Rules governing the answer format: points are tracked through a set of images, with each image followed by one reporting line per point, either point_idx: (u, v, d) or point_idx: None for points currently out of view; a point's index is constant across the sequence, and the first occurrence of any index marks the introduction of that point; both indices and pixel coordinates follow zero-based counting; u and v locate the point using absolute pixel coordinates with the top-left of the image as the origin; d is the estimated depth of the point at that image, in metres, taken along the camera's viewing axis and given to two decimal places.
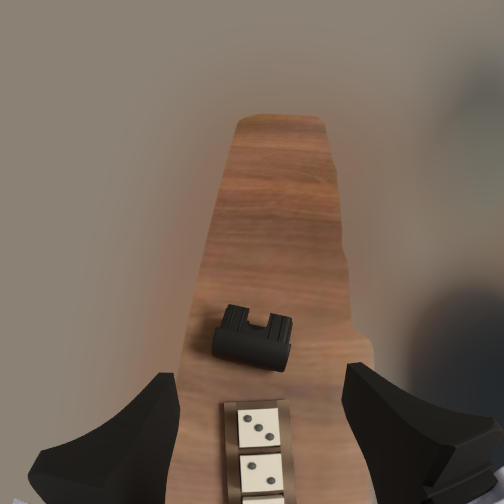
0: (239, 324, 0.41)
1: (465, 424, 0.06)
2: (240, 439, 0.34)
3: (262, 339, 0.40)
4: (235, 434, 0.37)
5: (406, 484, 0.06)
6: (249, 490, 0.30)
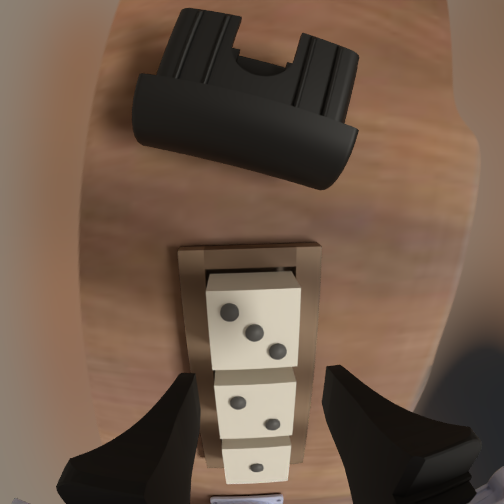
0: (209, 60, 0.12)
1: (440, 434, 0.06)
2: (213, 355, 0.17)
3: (278, 105, 0.12)
4: (204, 320, 0.20)
5: (379, 492, 0.06)
6: (232, 436, 0.19)
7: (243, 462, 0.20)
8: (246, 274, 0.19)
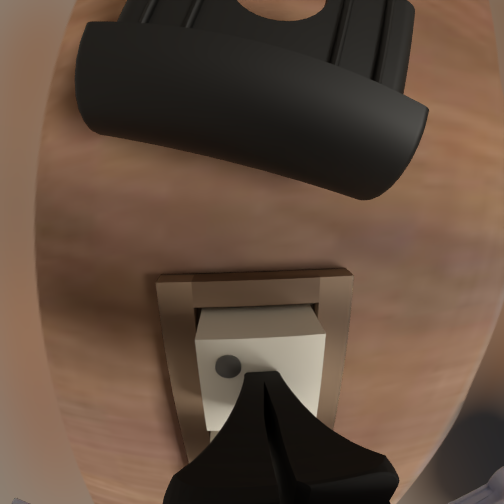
0: None
1: (347, 459, 0.06)
2: (207, 415, 0.12)
3: (307, 61, 0.07)
4: (195, 371, 0.15)
5: None
6: None
7: None
8: (250, 310, 0.14)
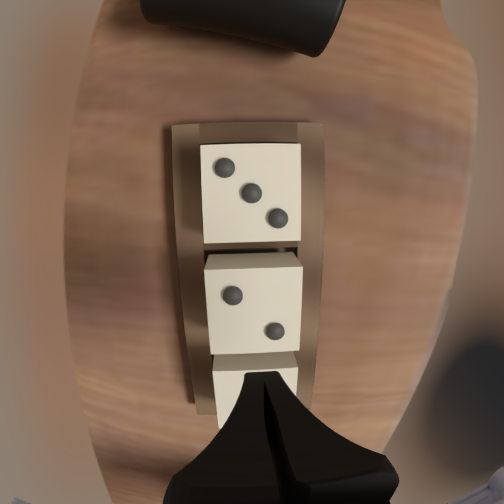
0: None
1: (347, 459, 0.06)
2: (205, 223, 0.16)
3: None
4: (197, 203, 0.18)
5: None
6: (225, 350, 0.17)
7: (239, 393, 0.18)
8: None
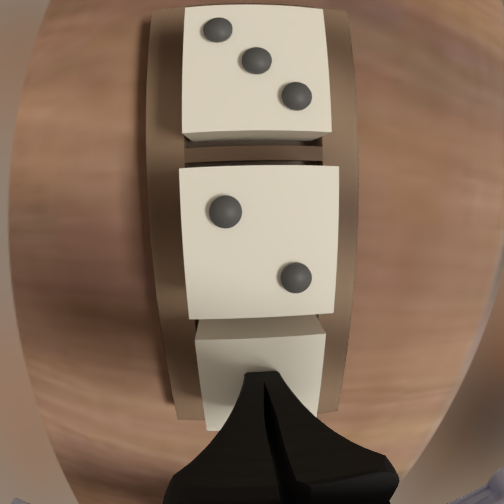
0: None
1: (347, 459, 0.06)
2: (186, 102, 0.10)
3: None
4: (178, 97, 0.12)
5: None
6: (213, 312, 0.11)
7: (236, 377, 0.12)
8: None
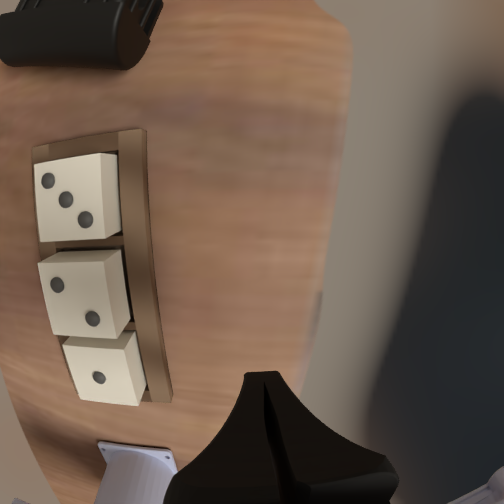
0: None
1: (347, 459, 0.06)
2: (39, 225, 0.17)
3: (66, 6, 0.11)
4: None
5: None
6: (62, 332, 0.18)
7: (85, 367, 0.19)
8: None
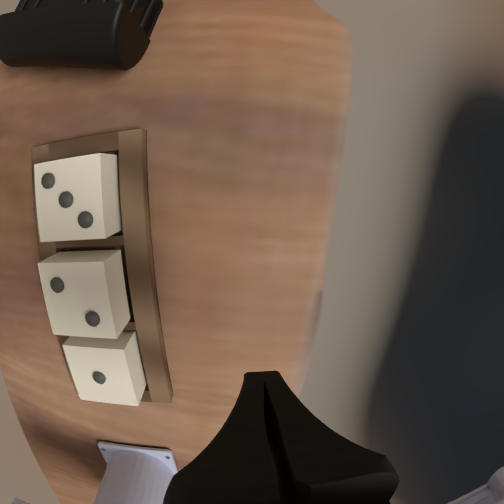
0: None
1: (347, 459, 0.06)
2: (39, 225, 0.17)
3: (66, 6, 0.11)
4: None
5: None
6: (62, 332, 0.18)
7: (85, 367, 0.19)
8: None
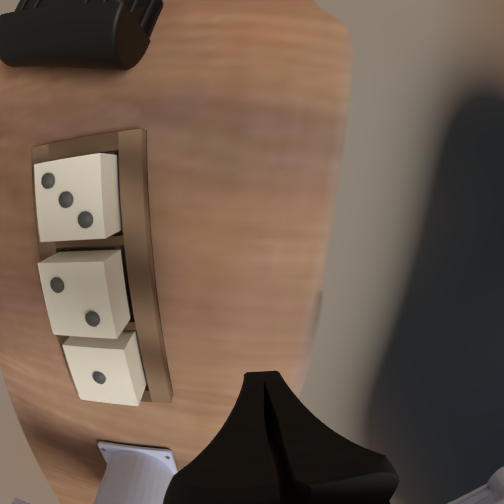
0: None
1: (347, 459, 0.06)
2: (39, 225, 0.17)
3: (66, 6, 0.11)
4: None
5: None
6: (62, 332, 0.18)
7: (85, 367, 0.19)
8: None
